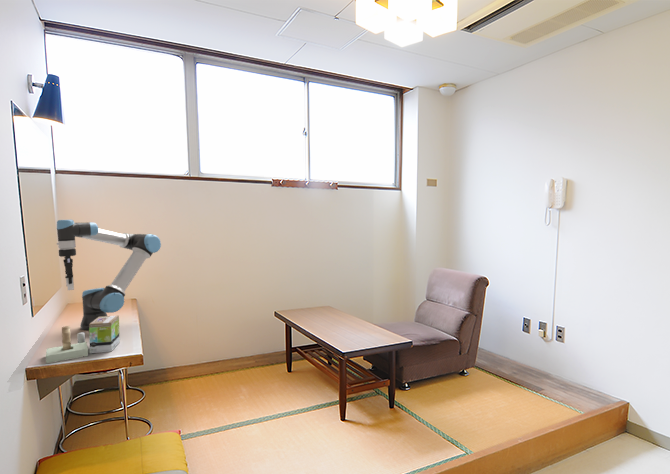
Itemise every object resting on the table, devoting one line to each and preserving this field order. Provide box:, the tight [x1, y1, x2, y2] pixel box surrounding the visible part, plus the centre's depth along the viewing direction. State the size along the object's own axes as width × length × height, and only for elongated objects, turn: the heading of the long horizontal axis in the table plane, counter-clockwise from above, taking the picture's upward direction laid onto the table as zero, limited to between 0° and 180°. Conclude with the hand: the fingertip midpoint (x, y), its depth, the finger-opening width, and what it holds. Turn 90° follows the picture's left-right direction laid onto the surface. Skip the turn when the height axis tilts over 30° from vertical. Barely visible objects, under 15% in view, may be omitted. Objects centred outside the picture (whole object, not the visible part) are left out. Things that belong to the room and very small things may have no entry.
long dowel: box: [61, 325, 72, 351], centre depth 181 cm, size 3×3×14 cm
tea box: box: [88, 315, 121, 354], centre depth 192 cm, size 15×10×15 cm, turn 17°
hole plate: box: [45, 341, 89, 364], centre depth 182 cm, size 16×12×4 cm
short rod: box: [76, 331, 86, 343], centre depth 194 cm, size 3×3×7 cm
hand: (70, 287), depth 205 cm, fingers open, 13 cm apart
